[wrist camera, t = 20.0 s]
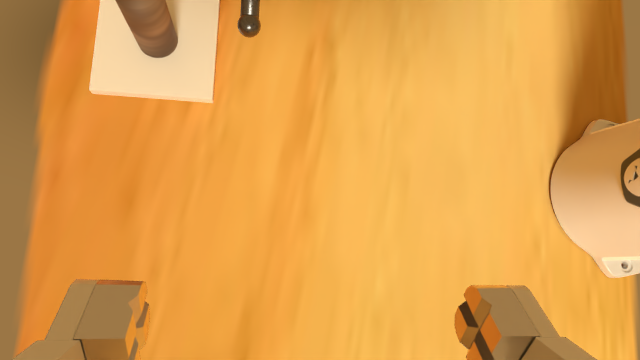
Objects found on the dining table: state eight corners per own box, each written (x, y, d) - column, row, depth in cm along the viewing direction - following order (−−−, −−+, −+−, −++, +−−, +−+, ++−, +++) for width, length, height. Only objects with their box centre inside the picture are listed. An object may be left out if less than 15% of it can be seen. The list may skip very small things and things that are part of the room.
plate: (220, 0, 49) (219, -5, 48) (213, 102, 47) (212, 99, 46) (105, -13, 47) (102, -19, 46) (92, 93, 45) (89, 89, 44)
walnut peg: (179, 24, 47) (162, -31, 38) (175, 59, 46) (157, 11, 37) (140, 20, 46) (113, -37, 37) (135, 55, 45) (107, 5, 37)
